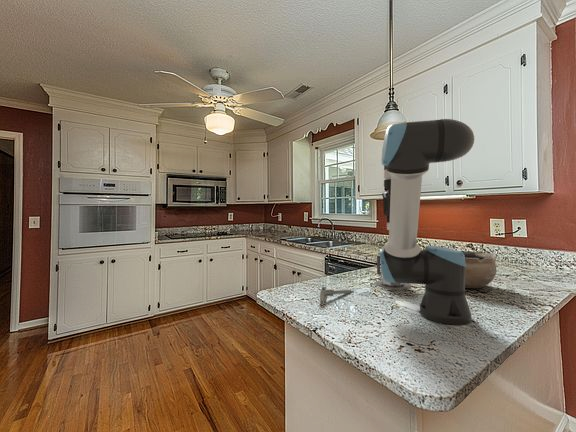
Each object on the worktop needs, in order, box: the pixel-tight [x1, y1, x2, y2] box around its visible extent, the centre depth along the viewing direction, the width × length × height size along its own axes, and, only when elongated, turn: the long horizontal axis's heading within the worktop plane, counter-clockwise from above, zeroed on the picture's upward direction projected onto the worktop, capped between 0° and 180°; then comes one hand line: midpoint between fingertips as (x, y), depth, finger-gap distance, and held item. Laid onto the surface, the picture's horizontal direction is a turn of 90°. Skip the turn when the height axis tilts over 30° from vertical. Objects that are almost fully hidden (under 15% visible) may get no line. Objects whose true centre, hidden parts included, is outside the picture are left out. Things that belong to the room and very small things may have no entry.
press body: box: [376, 252, 405, 287], centre depth 127 cm, size 13×10×15 cm
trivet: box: [374, 279, 412, 291], centre depth 126 cm, size 16×16×1 cm
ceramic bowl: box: [460, 250, 498, 289], centre depth 125 cm, size 22×22×15 cm
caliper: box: [319, 286, 354, 304], centre depth 112 cm, size 20×1×6 cm, turn 131°
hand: (392, 229), depth 125 cm, fingers closed on plunger, 3 cm apart
